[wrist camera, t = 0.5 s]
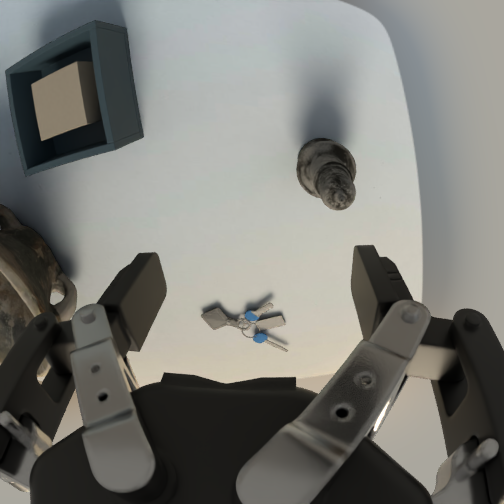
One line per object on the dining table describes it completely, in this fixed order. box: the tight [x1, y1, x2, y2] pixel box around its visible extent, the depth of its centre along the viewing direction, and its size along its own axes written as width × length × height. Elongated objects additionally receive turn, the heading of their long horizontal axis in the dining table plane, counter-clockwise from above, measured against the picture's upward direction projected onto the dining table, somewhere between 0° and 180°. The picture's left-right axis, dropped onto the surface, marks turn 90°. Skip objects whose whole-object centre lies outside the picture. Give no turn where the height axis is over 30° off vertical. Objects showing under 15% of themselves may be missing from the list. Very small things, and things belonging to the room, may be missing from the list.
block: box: [31, 61, 102, 141], centre depth 27 cm, size 7×7×5 cm
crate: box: [5, 20, 144, 177], centre depth 27 cm, size 14×14×7 cm
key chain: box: [201, 303, 288, 352], centre depth 43 cm, size 14×8×1 cm, turn 70°
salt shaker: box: [296, 138, 356, 210], centre depth 27 cm, size 6×6×12 cm
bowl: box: [0, 204, 77, 377], centre depth 36 cm, size 27×26×15 cm
